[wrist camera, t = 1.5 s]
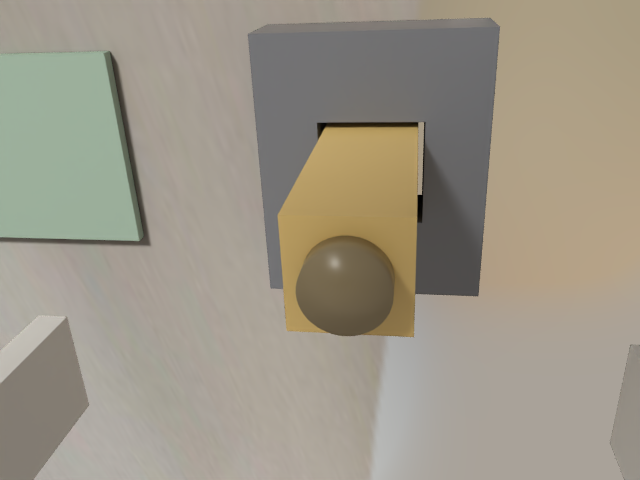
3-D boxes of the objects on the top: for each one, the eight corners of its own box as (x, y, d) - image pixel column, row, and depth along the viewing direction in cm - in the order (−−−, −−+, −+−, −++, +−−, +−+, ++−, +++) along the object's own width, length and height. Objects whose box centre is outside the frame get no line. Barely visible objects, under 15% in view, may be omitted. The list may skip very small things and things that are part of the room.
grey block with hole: (267, 24, 28) (247, 34, 25) (490, 17, 26) (499, 26, 23) (284, 256, 33) (270, 288, 30) (472, 262, 31) (478, 296, 28)
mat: (-72, 55, 31) (-81, 57, 30) (109, 51, 29) (103, 52, 29) (-18, 232, 35) (-24, 236, 35) (143, 236, 34) (139, 240, 33)
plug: (334, 110, 29) (269, 229, 17) (418, 109, 28) (416, 232, 16) (337, 187, 31) (280, 349, 18) (416, 189, 30) (413, 356, 18)
